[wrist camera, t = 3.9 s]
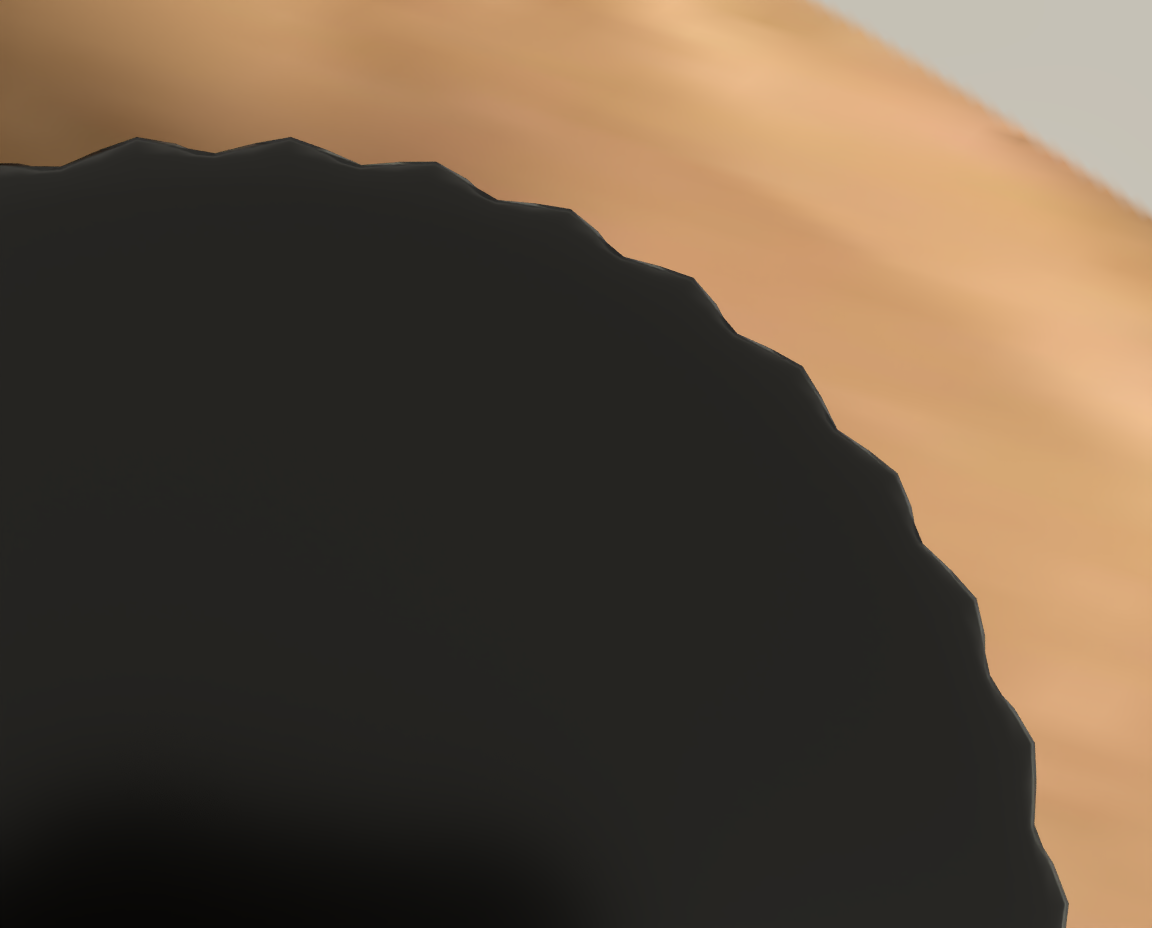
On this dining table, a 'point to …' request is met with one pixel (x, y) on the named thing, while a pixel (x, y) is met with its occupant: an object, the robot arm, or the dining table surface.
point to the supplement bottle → (454, 582)
